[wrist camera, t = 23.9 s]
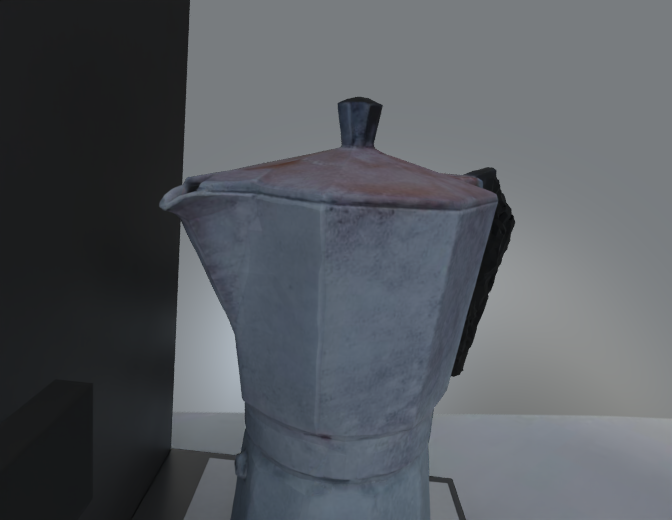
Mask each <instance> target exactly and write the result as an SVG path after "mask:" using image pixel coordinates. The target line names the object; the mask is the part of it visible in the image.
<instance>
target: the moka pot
mask: <svg viewBox="0 0 672 520" xmlns="http://www.w3.org/2000/svg"><path fill="white" fill-rule="evenodd" d="M381 110H382V105H381V104H379V103H377V102H375V101H373V100H371V99H369V98H364V97H355V98H350V99H346V100H344V101H341V102H339V103H338V113H339V122H340V129H341V140H342V141H341V142H342V146H341V147H340V148H336V149H331V150H327V151H322V152H318V153H313V154H308V155H303V156H298V157H293V158H288V159H283V160H277V161H273V162H267V163H262V164H258V165H253V166H248V167H243V168H239V169H234V170H230V171H223V172H216V173H210V174H205V175H199V176H193V177H188V178H186V180H185V182H184V184H183V185H181V186H178V187H175V188H173V189H172V190H170V191H169V192H168V193H166V194H165V195H164V196H163V198H162V200H161V201H160V203H159V207H160V208H162V209H163V210H165V211H169V212H172V213H174V214H176V215H177V216H178V217H179V219H180V220H181V222H182V224H183V226H184V228H185V230H186V233H187V235H188V237H189V239H190V241H191V243H192V245H193V247H194V249H195V250H196V252H197V254H198V256H199V258H200V261H201V263H202V265H203V267H204V269H205V272H206V274H207V276H208V278H209V280H210V282H211V285H212V287H213V289H214V291H215V293H216V295H217V297H218V299H219V301H220V303H221V305H222V307H223V309H224V310H225V312H226V314H227V317H228V319H229V321H230V324H231V326H232V329H233V331H234V334H235V340H236V349H237V356H238V365H239V374H240V383H241V392H242V398H243V400H244V401H245V424H246V429H245V433H244V438H243V444H242V449H241V453H240V454H237V455H236V458H235V462H234V465H235V474H236V475H237V482H236V489H235V495H234V501H233V507H232V513H231V519H230V520H430V493H429V455H428V442H429V437H430V432H431V425H432V418H433V411H434V407H435V406H436V404H437V403H438V402H439V400H440V399H441V398H442V396H443V395H444V393H445V392H446V390H447V387H448V384H449V380H450V377H451V376H453V377H454V376H457V375H460V373H461V371H463V366H464V363H465V359H466V356H467V354H468V350H469V348H470V347H471V345H472V343H473V340H474V337H475V333H476V330H477V325H478V323H479V321H480V319H481V316H482V314H483V311H484V309H485V306H486V302H487V300H488V293H489V292H490V291H491V289H492V286H493V283H494V280H495V275H496V273H497V271H498V267H499V265H500V264H501V261H502V257H503V254H504V253H505V251H506V250H507V248H508V244H509V242H510V236H511V232H512V230H513V227H514V224H515V220H514V216H513V215H512V214H511V208H510V207H509V206H508V204H507V203H506V200H505V196H504V194H503V193H502V192H501V190H500V184H499V180H498V179H497V177H496V170H495V169H494V168H489V167H487V168H484V169H480V170H476V171H472V172H469V173H467V174H464V175H454V174H442V173H438V172H435V171H432V170H429V169H426V168H424V167H421V166H418V165H415V164H412V163H409V162H407V161H404V160H401V159H398V158H395V157H392V156H389V155H386V154H384V153H382V152H380V151H378V150H377V149H375V147H374V140H375V136H376V131H377V127H378V123H379V119H380V115H381Z"/></svg>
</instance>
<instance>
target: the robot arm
mask: <svg viewBox="0 0 672 520" xmlns="http://www.w3.org/2000/svg"><path fill="white" fill-rule="evenodd" d="M92 499H93V383H85V382H76V381H67V380H58V379H55V380H54V381H53V382H51V383H50V384H49V385H48V386H46V387H45V388H44V389H43V390H41V391H40V392H39V393H38V394H36V395H35V396H34V397H33V398H31V399H30V400H29V401H28V402H26V403H25V404H24V405H23V406H21V407H20V408H19V409H18V410H17V411H15V412H14V413H13V414H12V415H10V416H9V417H8V418H7V419H5V420H4V421H3V422H2V423H0V520H78V519H79V517H80V516H81V514H82V513H83V512H84V510H85V509H86V507H87V506H88V505H89V503H90V502H91V500H92Z"/></svg>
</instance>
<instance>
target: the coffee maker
mask: <svg viewBox="0 0 672 520" xmlns="http://www.w3.org/2000/svg"><path fill="white" fill-rule="evenodd" d="M189 7H190V0H0V423H2V422H3V421H4V420H5V419H7V418H8V417H9V416H10V415H12V414H13V413H14V412H15V411H17V410H18V409H19V408H20V407H21V406H23V405H24V404H25V403H26V402H28V401H29V400H30V399H31V398H33V397H34V396H35V395H36V394H38V393H39V392H40V391H41V390H43V389H44V388H45V387H46V386H48V385H49V384H50V383H51V382H53V381H54V380H55V379H58V380H67V381H76V382H85V383H93V499H92V500H91V502H90V503H89V505H88V506H87V507H86V509H85V510H84V512H83V513H82V514H81V516H80V517H79V519H78V520H230V519H231V513H232V507H233V501H234V495H235V489H236V482H237V475H236V474H235V465H234V462H235V458H236V455H229V454H219V453H210V452H201V451H192V450H182V449H173V448H172V449H171V433H172V408H173V386H174V363H175V362H174V361H175V339H176V316H177V292H178V268H179V245H180V222H181V220H180V219H179V217H178V216H177V215H176V214H174V213H172V212H169V211H165V210H163V209H162V208H160V207H159V203H160V201H161V200H162V198H163V196H164V195H165V194H166V193H168V192H169V191H170V190H172V189H173V188H175V187H178V186H181V185H182V173H183V151H184V128H185V126H184V124H185V103H186V80H187V56H188V33H189V32H188V31H189V10H190V9H189ZM429 493H430V520H466V519H465V516H464V513H463V510H462V507H461V504H460V501H459V498H458V495H457V492H456V489H455V486H454V483H453V480H452V479H451V478H442V477H433V476H429Z"/></svg>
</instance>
